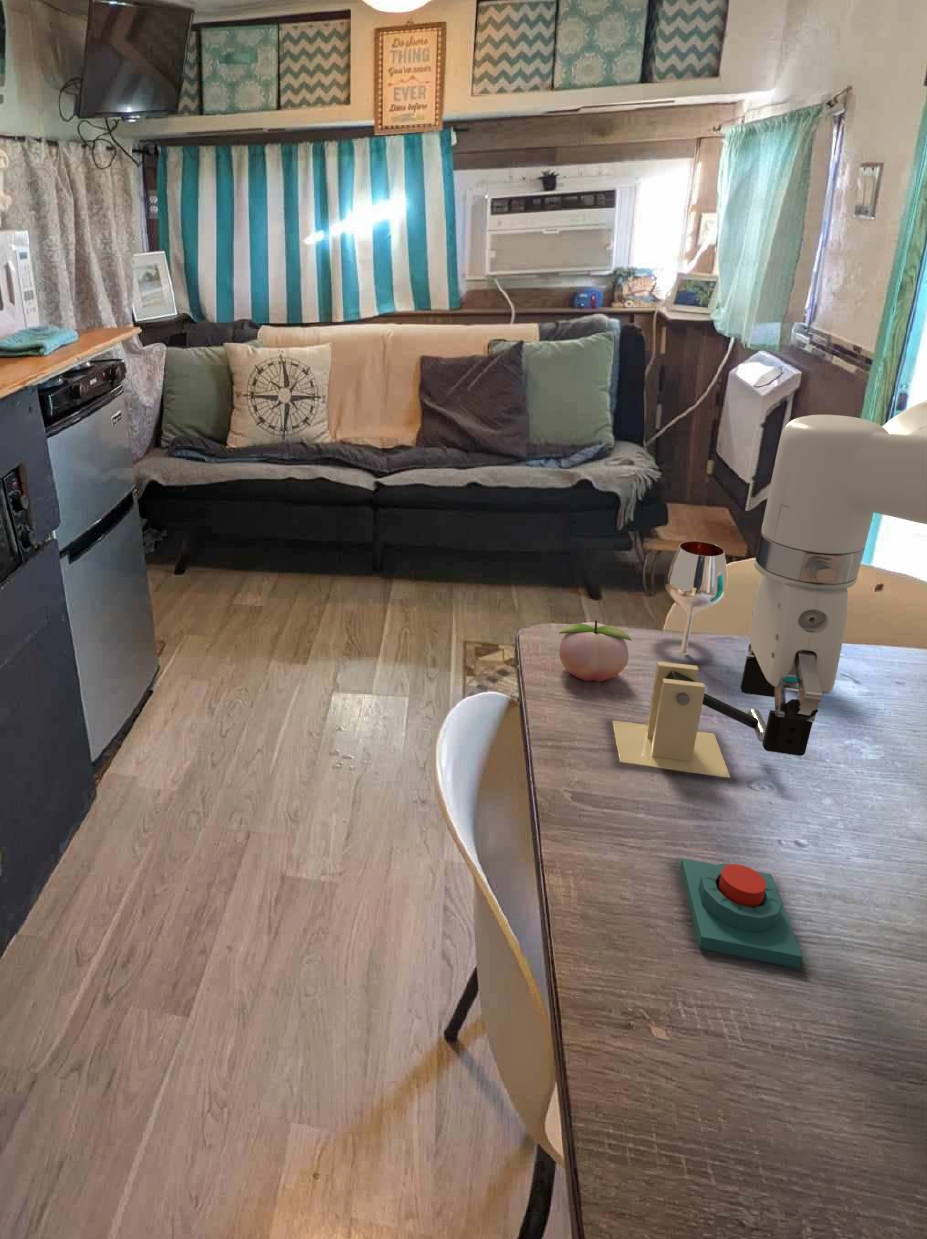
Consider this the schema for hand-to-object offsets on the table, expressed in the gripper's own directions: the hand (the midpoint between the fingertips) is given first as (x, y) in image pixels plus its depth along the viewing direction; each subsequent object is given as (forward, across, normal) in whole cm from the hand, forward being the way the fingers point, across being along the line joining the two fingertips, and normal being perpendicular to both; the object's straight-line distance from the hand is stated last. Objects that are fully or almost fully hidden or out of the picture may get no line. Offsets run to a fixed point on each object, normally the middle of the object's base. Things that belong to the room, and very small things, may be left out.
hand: (769, 721), depth 77 cm
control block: (+18, -7, +2) cm, 20 cm away
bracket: (+18, +19, +4) cm, 26 cm away
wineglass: (+18, +45, -1) cm, 48 cm away
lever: (+11, +19, +1) cm, 22 cm away
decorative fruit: (+19, +34, +13) cm, 41 cm away
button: (+15, -7, +2) cm, 16 cm away
